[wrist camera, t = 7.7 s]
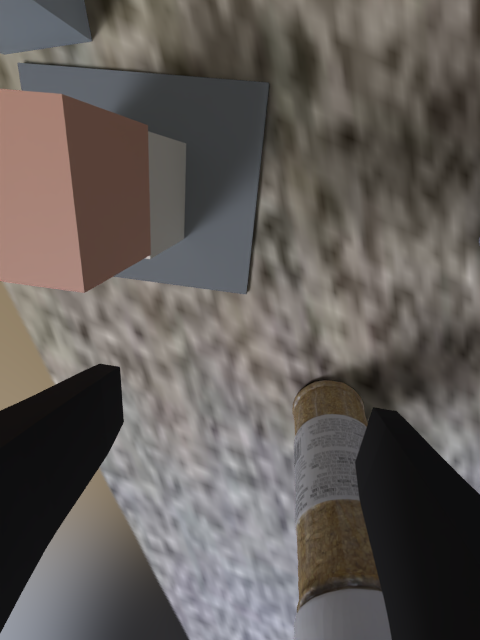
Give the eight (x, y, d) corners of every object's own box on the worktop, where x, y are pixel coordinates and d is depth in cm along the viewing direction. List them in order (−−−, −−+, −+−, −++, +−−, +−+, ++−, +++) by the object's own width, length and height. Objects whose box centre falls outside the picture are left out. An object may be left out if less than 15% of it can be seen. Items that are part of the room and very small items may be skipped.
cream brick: (186, 143, 16) (147, 130, 12) (184, 238, 18) (150, 259, 13) (96, 134, 16) (26, 119, 12) (103, 228, 18) (45, 245, 14)
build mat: (269, 84, 15) (268, 82, 14) (246, 292, 19) (246, 294, 19) (22, 64, 16) (17, 62, 15) (52, 266, 20) (48, 267, 20)
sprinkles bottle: (348, 440, 22) (422, 765, 10) (283, 422, 22) (276, 721, 10) (374, 386, 20) (506, 707, 8) (303, 367, 20) (325, 654, 8)
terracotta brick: (147, 125, 11) (61, 93, 7) (150, 254, 13) (84, 292, 9) (26, 114, 12) (-127, 78, 8) (45, 241, 14) (-67, 272, 9)
